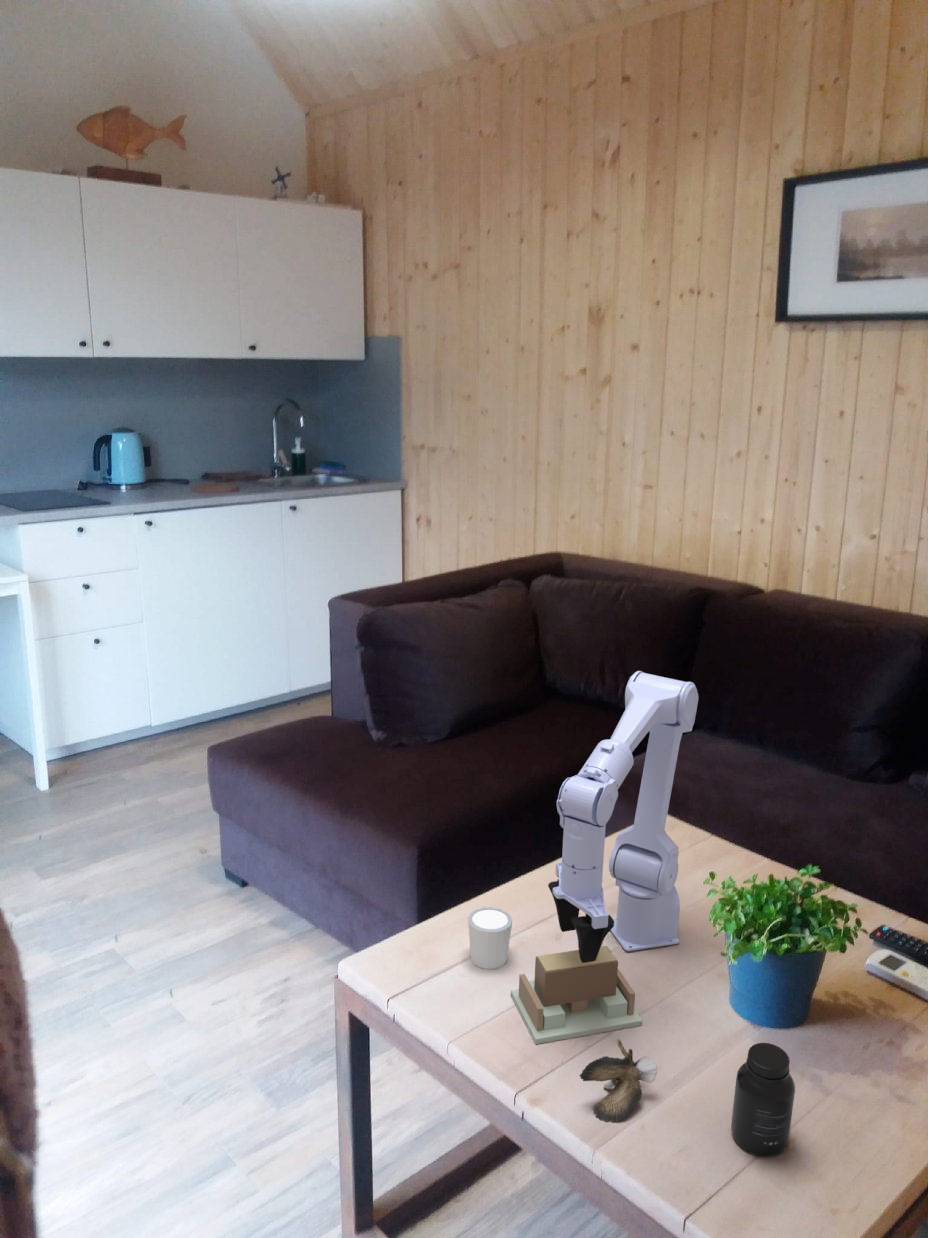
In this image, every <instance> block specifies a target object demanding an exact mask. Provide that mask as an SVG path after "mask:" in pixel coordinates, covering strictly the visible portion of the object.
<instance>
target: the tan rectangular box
mask: <svg viewBox="0 0 928 1238" xmlns="http://www.w3.org/2000/svg"><path fill="white" fill-rule="evenodd" d="M534 962H535V963H534V965H535V966H534V980H535V981H534V980H533V981H534V990H535V992H536V994H537V996H538V998H539V1000H540V1001H541V1003H542V1005H543V1007H548V1006H554V1005H560V1004H566V1003H572V1002H578V1001H583V1000H589V999H595V998H601V997H607V996H613V995H616V985H617V971H618V969H619V967H618V966H619V961H618V960H617V958H616V956H615V955H614V954H613V952H612V951H611V950H610V948H609V946H607V945H601V947H600V950H599V953H598V956H597V958H596V960H595V961H592V962H586V963H582V962H581V960H580V956H579V949H575V950H569V951H562V952H561V951H560V952H555V953H549V954H543V955H542V954H541V955H537V956H535V961H534Z"/></svg>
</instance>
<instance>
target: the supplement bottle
mask: <svg viewBox="0 0 928 1238" xmlns="http://www.w3.org/2000/svg"><path fill="white" fill-rule="evenodd" d="M747 1051H748V1052H747V1058H746V1061H745V1062H744V1063H743V1064H741V1066H740V1067H739V1068H738V1071H737V1072H736V1073H737V1074H736V1077H735V1079H736V1081H735V1087H734V1088H735V1089H734V1096H733V1097H734V1098H733V1103H732V1104H733V1105H732V1113H731V1114H732V1115H731V1123H730V1125H731V1126H730V1129H731V1134H732V1136H733V1138H734V1140H735V1142H736V1143H737V1144H738V1145H739V1146H740V1147H741V1149H743V1150H745V1151H746V1152H748V1153H750V1154H752V1155H755V1156H758V1157H767V1158H768V1157H774V1156H778V1155H779V1154H781V1153H782V1152H784V1151H785V1149H786V1148H787V1146H788V1144H789V1139H790V1133H791V1132H790V1131H791V1124H792V1118H793V1117H792V1116H793V1109H794V1108H793V1107H794V1101H795V1093H796V1085H795V1084H796V1083H795V1081H794V1079H793V1076H792V1075H791V1073H790V1056H789V1054H788V1053H786V1051H785V1050H784V1049H783V1048H781V1047H780V1046H777V1045H776V1044H773V1043H770V1042H758V1043H757V1042H756V1043H754V1044H752V1045H751V1047H749V1049H748V1050H747Z"/></svg>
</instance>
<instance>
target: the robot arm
mask: <svg viewBox="0 0 928 1238" xmlns="http://www.w3.org/2000/svg"><path fill="white" fill-rule="evenodd" d="M698 703H699V693H698V689H697V687H696V684H695V683H694V682H692V681H684V680H679V679H675V678H671V677H670V678H669V677H664V676H660V675H656V674H650V673H646V672H644V671H642V670H637V671H635V672H634V673H633V674H632V675H631V676H630V677H629V679H628V681H627V684H626V686H625V691H624V705H625V706H624V708H625V710H624V711H623V714H622V715H621V717H620V719H619V721H618V723H617V725H616V727H615V729H614V730H613V733H612V735H611V736H610V739H603V740H601V741H600V742H598V743H597V745H596V746H595V748H594V749H593V751H592V753H591V754H590V755H589V757H588V758H587V760H586V761H585V763H584V765H583V766H582V768H581V769H580V770H579V772H578V773H577V774H576V775H574V776H571V777H567V778H565V780H564V781H563V782H562V784H561V786H560V788H559V792H558V795H557V800H556V809H557V813H558V815H559V825H560V827H561V828H562V829H563V832H562V833H563V835H562V856H561V862H556V863H555V876H556V877H557V878H558V879H557V880H556V881H551V882H549V883H548V884H547V885H548V889H549V891H550V893H551V895H552V898H553V900H554V904H555V909H556V913H557V919H558V924H559V925H558V926H559V929H560V931H561V932H562V933H563V932H570V931H572V932H573V931H575V933H576V935H577V942H578V950H579V956H580V960H581V962H582V963H586V962H592V961H595V960H596V958H597V956H598V953H599V950H600V947H601V946H603V942H604V940H605V938H606V937H607V935H608V934H609V933H610V932H611V933H612V935H613V936H614V937H615V938H616V941H618V942H619V944H620V946H621V947H622V948H623V950H624V951H625V952H632V951H639V950H646V949H652V948H658V947H659V948H660V947H665V946H671V945H672V946H673V945H679V943H680V939H679V938H678V933H679V924H680V923H679V921H680V909H681V902H680V896H679V893H678V890H677V888H676V886H675V884H676V881H677V879H678V875H679V853H680V852H679V850H680V849H679V846H678V845H677V844H676V842H675V841H674V840H673V839H672V838H671V837H670V835H669V834H668V833H667V832H666V830H665V829H666V825H667V824H666V823H667V817H668V813H669V812H668V811H669V807H670V802H671V801H670V800H671V795H672V789H673V785H674V777H675V774H676V773H675V771H676V768H677V761H678V756H679V750H680V745H681V740H682V736H683V733H689V732H692V730H693V727H694V724H695V720H696V715H697V709H698ZM648 733H649V737H648V740H647V741H648V742H647V747H646V753H645V758H644V759H645V760H644V763H643V764H644V765H643V770H642V771H643V772H642V776H641V780H640V781H641V782H640V785H639V786H640V787H639V793H638V798H637V804H636V809H635V815H634V820H633V826H630V827H628V828H625V829H624V830H622V831H621V832H620V833H618V834H617V836H616V838H615V843H614V845H613V849H612V850H611V853H610V857H609V861H608V870H609V873H610V876H611V877H612V879H615V886H617V887H618V898H617V914H616V920H614V919H613V917H612V916H611V915H610V914H608V912H607V910H606V905H605V904H606V903H605V897H604V888H603V871H604V857H605V845H606V844H605V842H606V825H607V823H608V822H609V820H610V819H611V817H612V815H613V812H614V809H615V805H616V802H617V800H618V797H619V791H618V790H619V789H620V787H621V786H622V784H623V782H624V780H625V779H626V777H627V776H628V774H629V772H630V770H632V767H633V766H634V763H635V762H634V755H633V752H634V751H635V749H636V748H637V747H638V745H639V744H640V743H641V742H642V741H643V739H644V738H645V737H646V735H647V734H648ZM580 911H582V912H583V913H585V915H582V916H580Z"/></svg>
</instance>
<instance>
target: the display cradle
mask: <svg viewBox="0 0 928 1238" xmlns="http://www.w3.org/2000/svg"><path fill="white" fill-rule="evenodd" d="M518 981H519V982H518V989H517V988H516V989H511V990H510V997H511V998H512V1001H513V1002H514V1004H515V1006H516V1008H517V1010H518V1012H519V1015H520V1017H521V1018H522V1020H523V1023H524V1024H525V1026H526V1027H527V1030H528V1032H529V1034H530V1036H531V1037H532V1040H533V1042H534V1044H535V1045H539V1044H545V1043H551V1042H557V1041H562V1040H568V1039H573V1038H579V1037H584V1036H589V1035H595V1034H601V1033H607V1032H612V1031H618V1030H622V1029H623V1030H624V1029H630V1028H635V1027H640V1026H643V1019H642V1018H641V1016H640V1015H639V1014H638V1011H636V1008H635V999H636V992H635V990H634V989H633V988H632V986H631V985H630V983H629V982H628V981H627V979H626V978H625V976H624V975H623V974H622V972H621V971H620V968H618V971H617V985H616V995H613V996H607V997H601V998H595V999H589V1000H583V1001H578V1002H572V1003H566V1004H560V1005H554V1006H548V1007H543V1005H542V1003H541V1001H540V1000H539V998H538V996H537V994H536V992H535V990H534V981H535V979H534V980H529V979H528V977H527V975H526V974H525V973H521V974H519V977H518Z"/></svg>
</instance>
